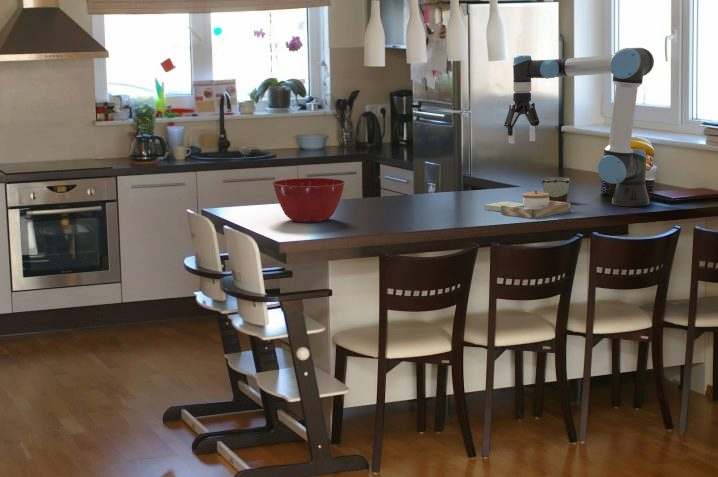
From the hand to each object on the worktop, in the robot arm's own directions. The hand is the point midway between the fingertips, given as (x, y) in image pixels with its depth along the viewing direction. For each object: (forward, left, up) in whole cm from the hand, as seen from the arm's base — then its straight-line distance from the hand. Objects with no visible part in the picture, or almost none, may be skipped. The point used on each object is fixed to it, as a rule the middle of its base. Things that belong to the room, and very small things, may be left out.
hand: (522, 142), depth 496 cm
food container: (-13, -7, -25) cm, 29 cm away
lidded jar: (-27, +24, -25) cm, 44 cm away
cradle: (-27, +24, -25) cm, 44 cm away
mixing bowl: (+28, +96, -25) cm, 103 cm away
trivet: (-12, +24, -25) cm, 37 cm away
